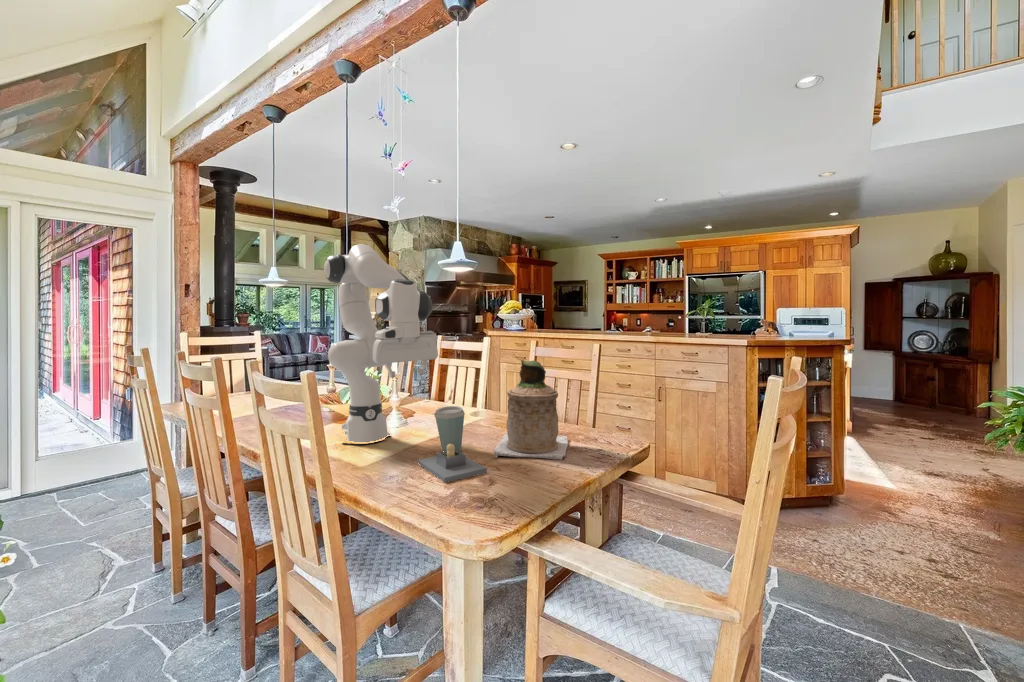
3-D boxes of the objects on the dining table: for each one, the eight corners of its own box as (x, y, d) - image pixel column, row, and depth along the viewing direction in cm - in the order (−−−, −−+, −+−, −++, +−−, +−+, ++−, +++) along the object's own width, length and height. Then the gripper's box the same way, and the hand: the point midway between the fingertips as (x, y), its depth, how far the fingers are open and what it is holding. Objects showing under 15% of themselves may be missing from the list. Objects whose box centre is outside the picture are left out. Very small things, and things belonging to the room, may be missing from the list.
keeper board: (417, 464, 151) (417, 440, 150) (457, 456, 158) (456, 433, 158) (444, 483, 134) (443, 456, 133) (486, 472, 142) (486, 447, 141)
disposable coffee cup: (464, 455, 159) (462, 411, 158) (432, 455, 159) (431, 412, 158) (467, 446, 170) (466, 405, 169) (438, 446, 170) (436, 405, 169)
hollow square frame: (436, 463, 147) (436, 453, 147) (456, 458, 151) (455, 449, 150) (445, 469, 141) (445, 458, 141) (465, 464, 145) (465, 454, 145)
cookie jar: (566, 460, 152) (564, 362, 149) (491, 458, 155) (489, 362, 153) (568, 439, 176) (567, 355, 174) (504, 438, 180) (502, 355, 178)
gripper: (432, 330, 154) (433, 371, 154) (370, 332, 142) (371, 377, 143) (440, 330, 148) (441, 373, 149) (376, 333, 137) (378, 380, 138)
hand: (407, 375), depth 146 cm, fingers open, 8 cm apart
